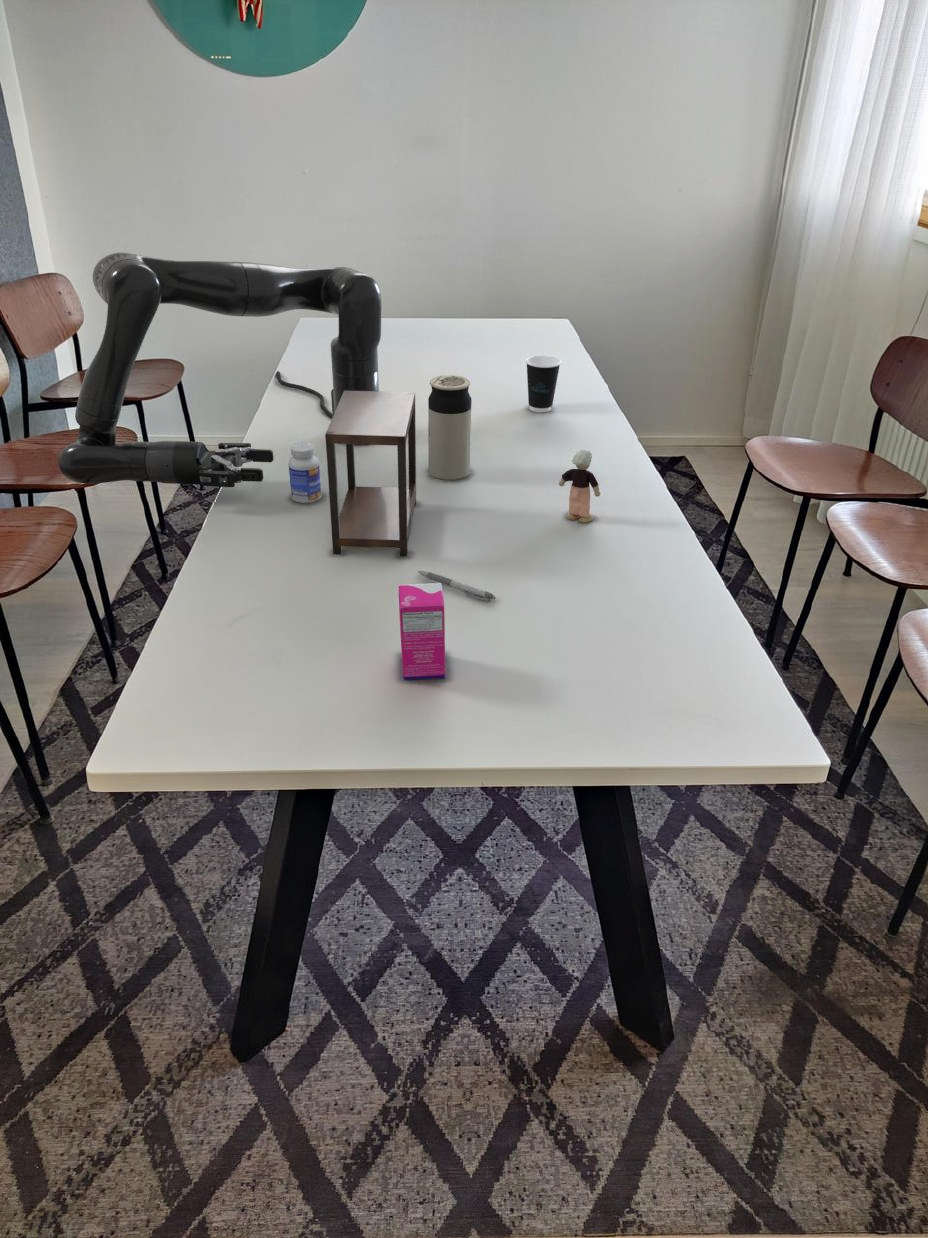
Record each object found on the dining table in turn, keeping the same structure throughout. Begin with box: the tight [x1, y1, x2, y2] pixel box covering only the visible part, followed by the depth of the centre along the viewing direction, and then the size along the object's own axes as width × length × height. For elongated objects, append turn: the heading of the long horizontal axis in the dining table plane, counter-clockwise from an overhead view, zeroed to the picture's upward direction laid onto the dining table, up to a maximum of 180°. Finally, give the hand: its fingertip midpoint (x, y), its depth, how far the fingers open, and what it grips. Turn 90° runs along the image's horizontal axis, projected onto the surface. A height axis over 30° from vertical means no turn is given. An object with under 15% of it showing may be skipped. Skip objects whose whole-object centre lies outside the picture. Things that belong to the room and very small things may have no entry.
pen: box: [417, 570, 496, 602], centre depth 139 cm, size 1×14×1 cm, turn 58°
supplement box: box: [398, 582, 447, 681], centre depth 119 cm, size 6×6×12 cm
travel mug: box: [427, 374, 473, 481], centre depth 171 cm, size 8×8×18 cm
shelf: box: [324, 390, 417, 558], centre depth 150 cm, size 12×20×20 cm, turn 178°
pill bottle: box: [287, 442, 322, 504], centre depth 163 cm, size 5×5×10 cm
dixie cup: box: [524, 355, 562, 413], centre depth 204 cm, size 8×8×11 cm
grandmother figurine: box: [558, 448, 601, 524], centre depth 157 cm, size 8×4×13 cm, turn 71°
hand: (267, 465), depth 162 cm, fingers open, 8 cm apart
